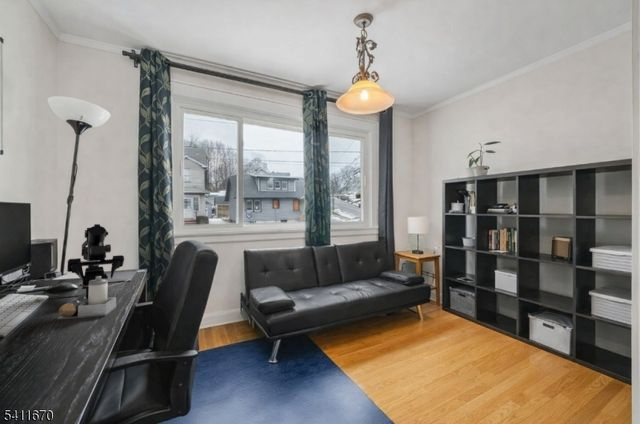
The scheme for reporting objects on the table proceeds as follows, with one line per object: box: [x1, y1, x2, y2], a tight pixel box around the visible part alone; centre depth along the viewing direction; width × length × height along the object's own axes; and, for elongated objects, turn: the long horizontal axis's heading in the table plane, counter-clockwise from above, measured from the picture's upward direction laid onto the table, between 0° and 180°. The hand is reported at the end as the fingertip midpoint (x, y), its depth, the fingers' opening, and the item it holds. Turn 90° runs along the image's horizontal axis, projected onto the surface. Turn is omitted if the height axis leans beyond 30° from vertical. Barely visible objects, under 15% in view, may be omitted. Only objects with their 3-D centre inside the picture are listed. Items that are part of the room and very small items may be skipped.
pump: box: [88, 276, 109, 305], centre depth 110 cm, size 6×6×14 cm
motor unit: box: [56, 296, 117, 320], centre depth 109 cm, size 10×16×6 cm, turn 107°
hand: (98, 279), depth 113 cm, fingers open, 9 cm apart
